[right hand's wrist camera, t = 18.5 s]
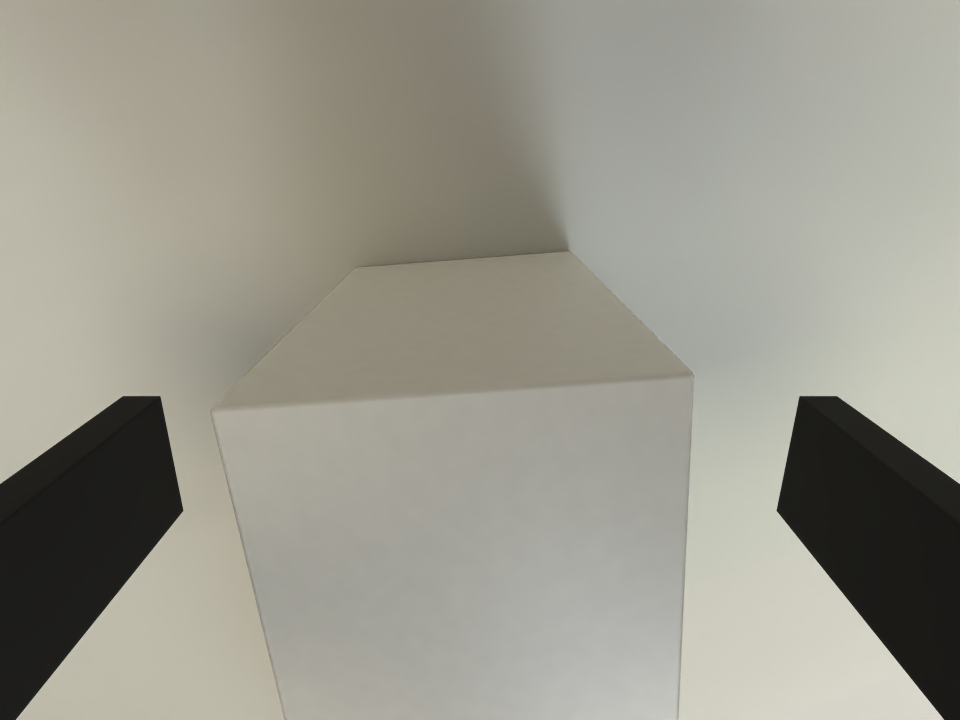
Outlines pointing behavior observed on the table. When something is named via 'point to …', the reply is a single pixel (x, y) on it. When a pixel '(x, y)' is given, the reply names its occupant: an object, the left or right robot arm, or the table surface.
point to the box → (466, 497)
